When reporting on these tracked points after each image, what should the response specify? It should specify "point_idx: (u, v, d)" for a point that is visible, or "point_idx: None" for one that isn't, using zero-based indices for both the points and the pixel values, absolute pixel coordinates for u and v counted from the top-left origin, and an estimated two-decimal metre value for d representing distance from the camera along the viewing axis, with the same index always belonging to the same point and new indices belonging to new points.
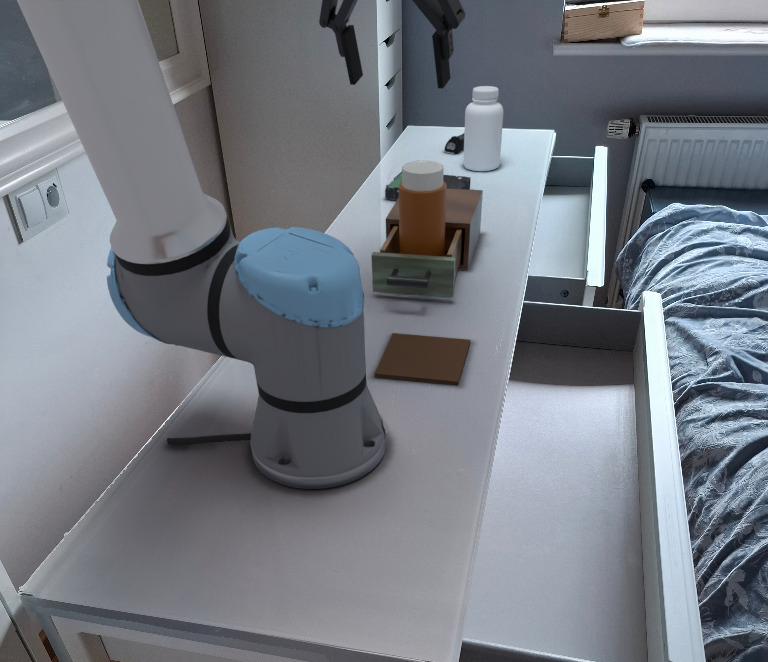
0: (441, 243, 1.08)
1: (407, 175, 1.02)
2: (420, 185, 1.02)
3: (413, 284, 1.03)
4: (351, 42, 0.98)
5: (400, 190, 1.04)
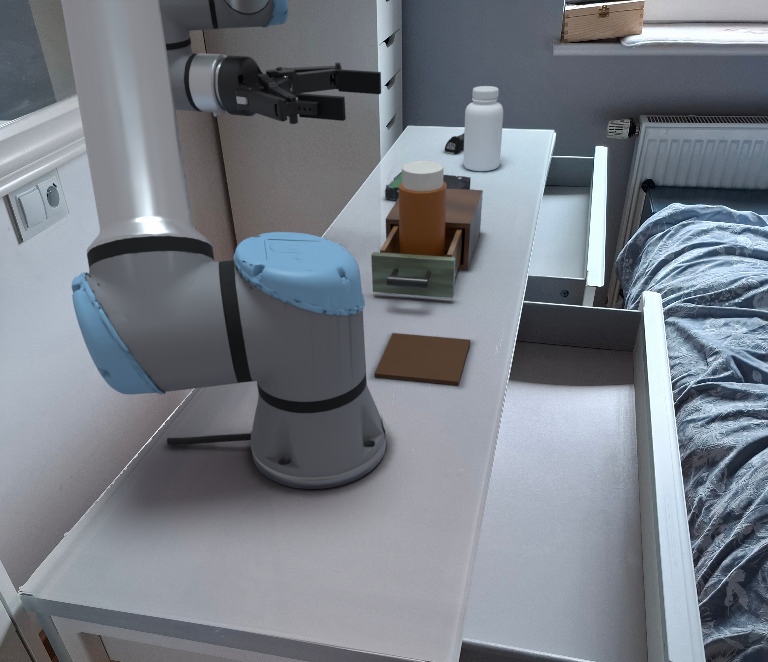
0: (441, 243, 1.08)
1: (407, 175, 1.02)
2: (420, 185, 1.02)
3: (413, 284, 1.03)
4: None
5: (400, 190, 1.04)
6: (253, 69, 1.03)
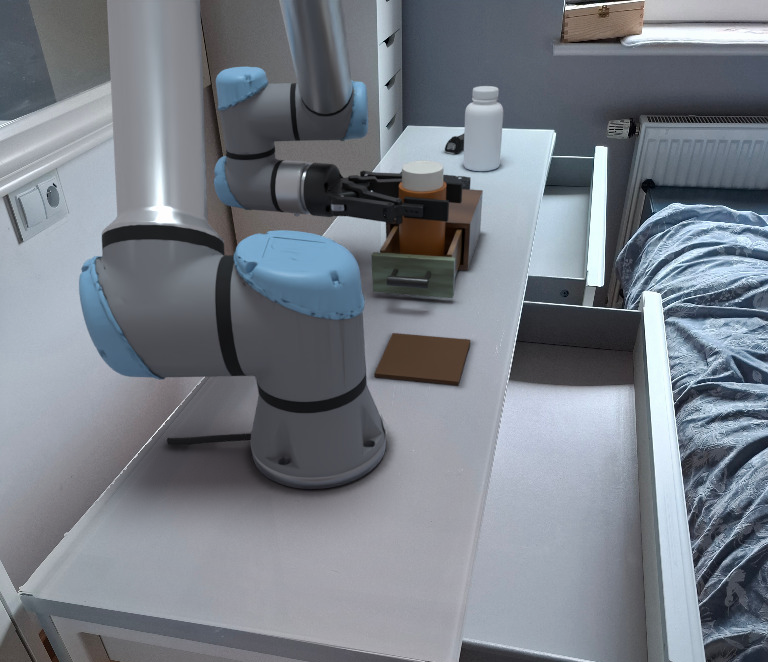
0: (441, 243, 1.08)
1: (407, 175, 1.02)
2: (420, 185, 1.02)
3: (413, 284, 1.03)
4: None
5: (400, 190, 1.04)
6: (336, 175, 1.09)
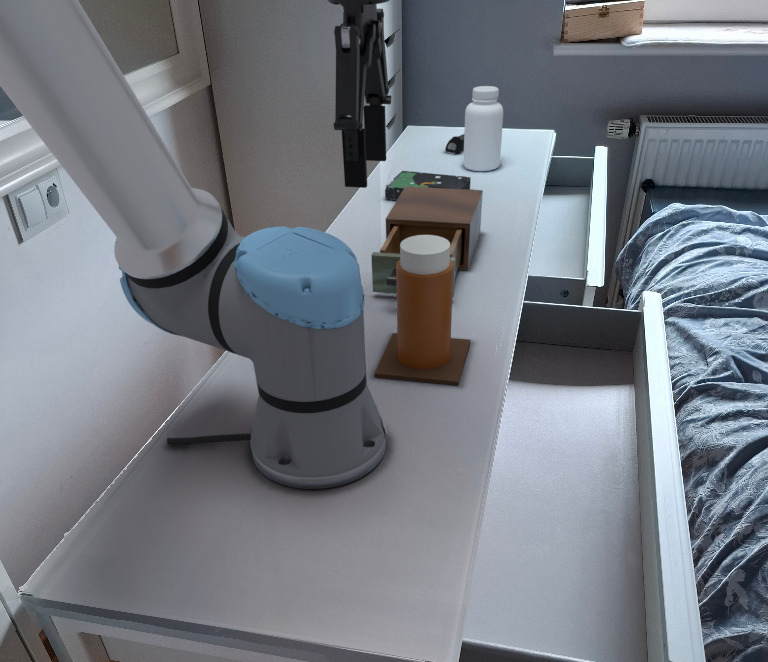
0: (447, 330, 0.91)
1: (406, 255, 0.84)
2: (422, 267, 0.84)
3: None
4: (373, 120, 0.93)
5: (398, 271, 0.87)
6: None
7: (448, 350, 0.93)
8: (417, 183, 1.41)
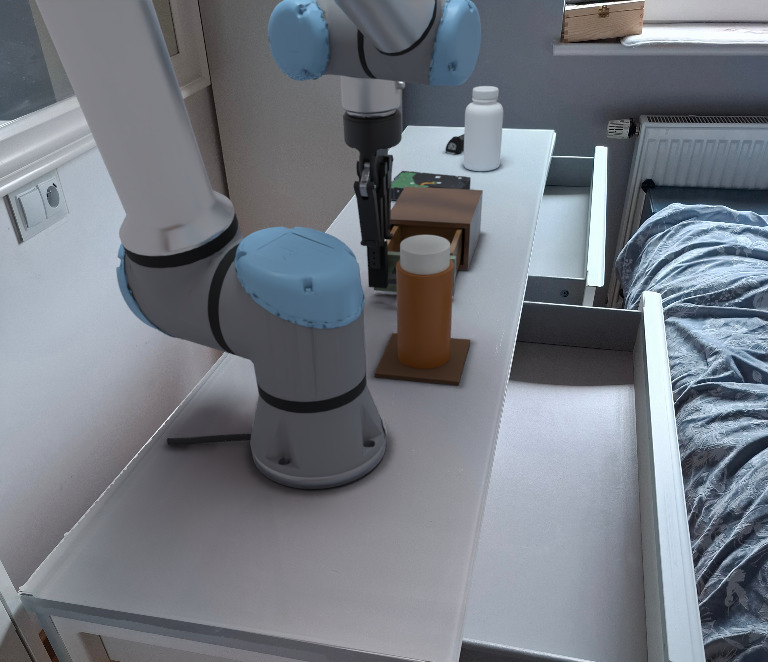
0: (447, 330, 0.91)
1: (406, 255, 0.84)
2: (422, 267, 0.84)
3: None
4: None
5: (398, 271, 0.87)
6: None
7: (448, 350, 0.93)
8: (417, 183, 1.41)
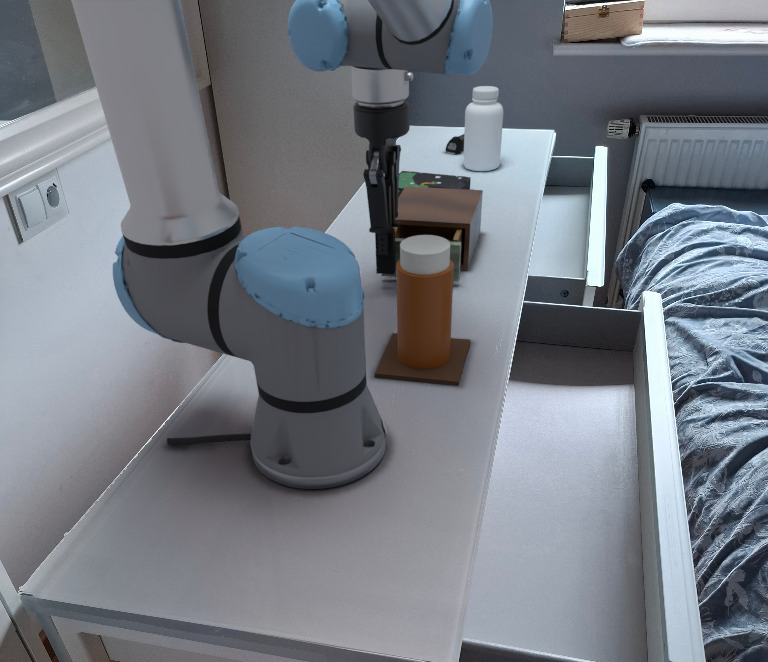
0: (447, 330, 0.91)
1: (406, 255, 0.84)
2: (422, 267, 0.84)
3: None
4: None
5: (398, 271, 0.87)
6: None
7: (448, 350, 0.93)
8: (417, 183, 1.41)
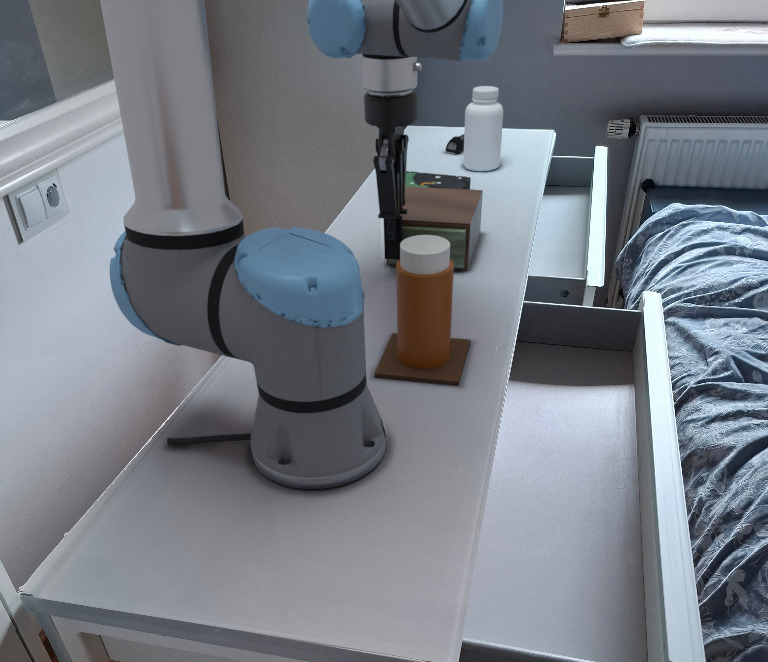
0: (447, 330, 0.91)
1: (406, 255, 0.84)
2: (422, 267, 0.84)
3: None
4: None
5: (398, 271, 0.87)
6: None
7: (448, 350, 0.93)
8: (417, 183, 1.41)
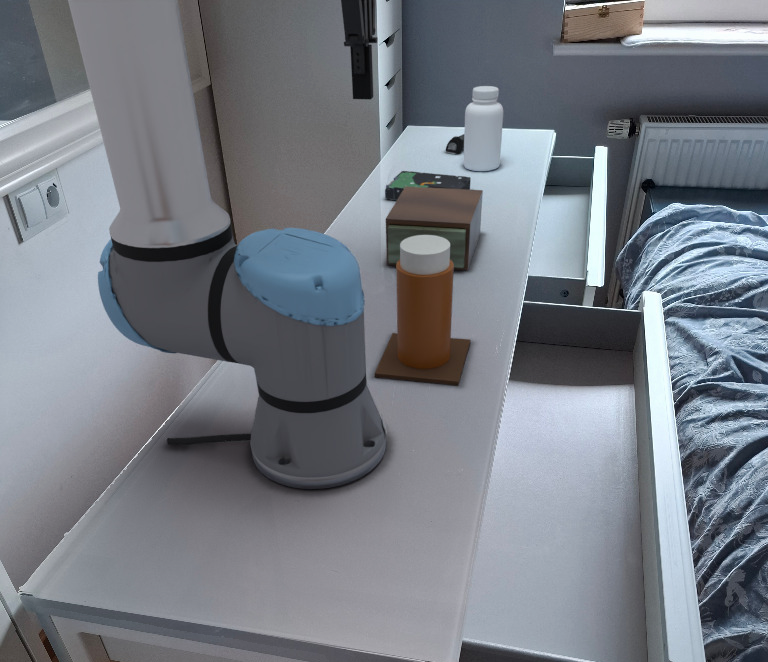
0: (447, 330, 0.91)
1: (406, 255, 0.84)
2: (422, 267, 0.84)
3: None
4: None
5: (398, 271, 0.87)
6: None
7: (448, 350, 0.93)
8: (417, 183, 1.41)
